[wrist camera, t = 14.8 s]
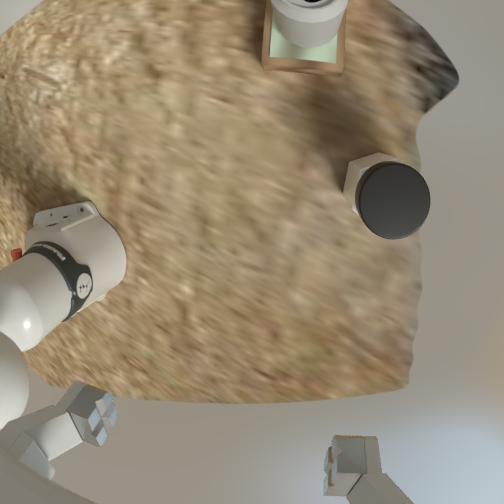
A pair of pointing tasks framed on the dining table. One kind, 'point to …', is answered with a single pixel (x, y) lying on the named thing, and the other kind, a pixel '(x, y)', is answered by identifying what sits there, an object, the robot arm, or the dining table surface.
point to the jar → (387, 195)
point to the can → (309, 20)
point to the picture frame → (301, 51)
